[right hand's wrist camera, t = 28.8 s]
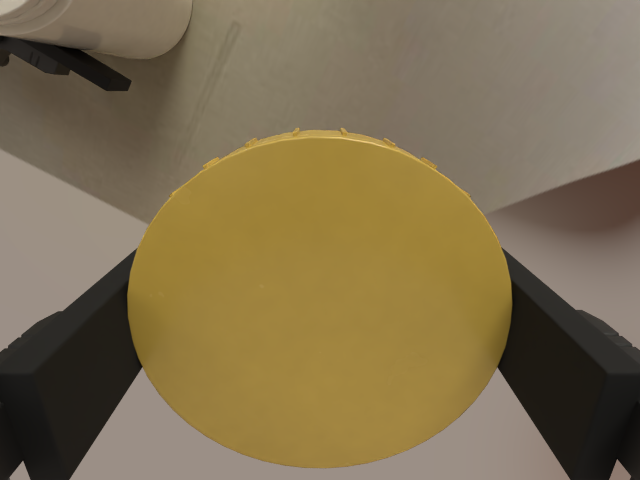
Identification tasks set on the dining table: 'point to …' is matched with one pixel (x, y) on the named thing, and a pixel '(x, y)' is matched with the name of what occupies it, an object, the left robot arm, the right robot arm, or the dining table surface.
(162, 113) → the dining table surface
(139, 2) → the jar
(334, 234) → the lid
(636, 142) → the dining table surface
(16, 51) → the left robot arm
